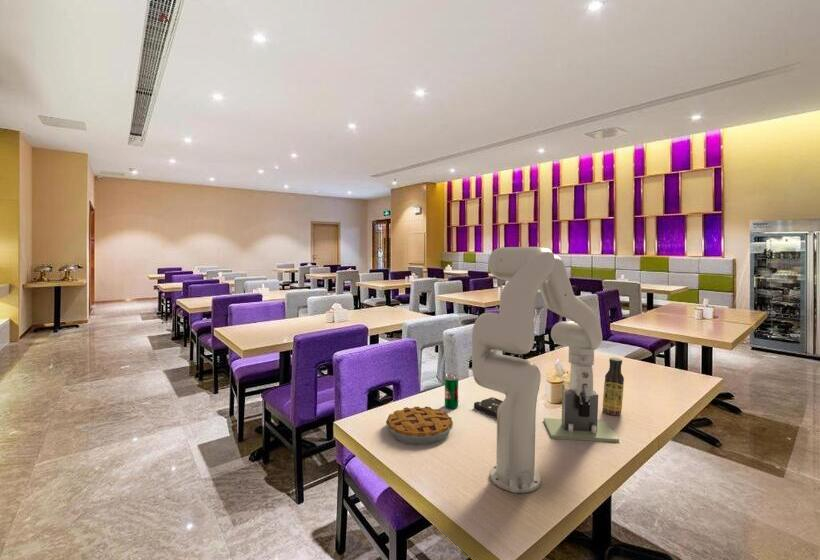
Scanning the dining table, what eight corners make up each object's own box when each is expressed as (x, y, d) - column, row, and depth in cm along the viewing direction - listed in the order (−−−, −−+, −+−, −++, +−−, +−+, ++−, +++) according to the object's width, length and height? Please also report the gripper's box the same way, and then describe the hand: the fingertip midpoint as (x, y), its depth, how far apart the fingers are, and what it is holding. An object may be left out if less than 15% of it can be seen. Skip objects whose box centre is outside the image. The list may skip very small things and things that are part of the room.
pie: (435, 413, 146) (435, 400, 146) (465, 440, 126) (465, 424, 125) (377, 423, 138) (377, 409, 138) (399, 453, 118) (399, 436, 117)
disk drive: (473, 410, 150) (504, 423, 138) (473, 402, 150) (504, 415, 138) (492, 403, 156) (523, 415, 144) (492, 396, 156) (523, 408, 144)
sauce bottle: (602, 414, 144) (603, 359, 143) (602, 408, 150) (604, 355, 148) (622, 417, 141) (624, 362, 140) (622, 411, 147) (624, 357, 145)
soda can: (442, 405, 153) (442, 374, 152) (454, 403, 155) (454, 372, 154) (448, 410, 148) (448, 378, 148) (460, 408, 150) (460, 376, 149)
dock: (619, 442, 123) (619, 431, 123) (551, 438, 126) (551, 427, 126) (604, 424, 136) (605, 414, 136) (543, 420, 139) (543, 411, 139)
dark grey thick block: (597, 431, 128) (598, 395, 127) (564, 430, 130) (565, 393, 129) (593, 426, 132) (594, 390, 131) (561, 424, 134) (562, 389, 133)
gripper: (602, 366, 120) (600, 422, 121) (585, 352, 137) (583, 401, 138) (576, 365, 121) (574, 420, 122) (562, 351, 138) (561, 400, 139)
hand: (579, 410), depth 130 cm, fingers open, 9 cm apart
